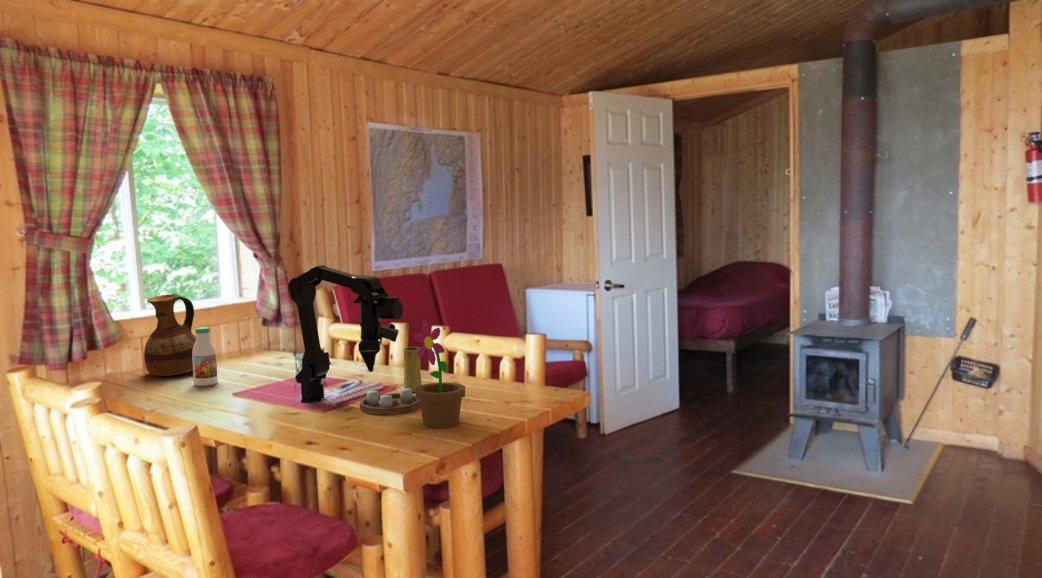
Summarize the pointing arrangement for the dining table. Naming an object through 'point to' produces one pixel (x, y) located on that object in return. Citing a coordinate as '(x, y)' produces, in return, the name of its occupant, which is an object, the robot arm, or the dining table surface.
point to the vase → (412, 368)
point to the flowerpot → (437, 387)
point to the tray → (396, 405)
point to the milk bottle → (204, 359)
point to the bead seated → (406, 395)
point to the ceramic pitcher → (170, 338)
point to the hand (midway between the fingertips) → (371, 368)
